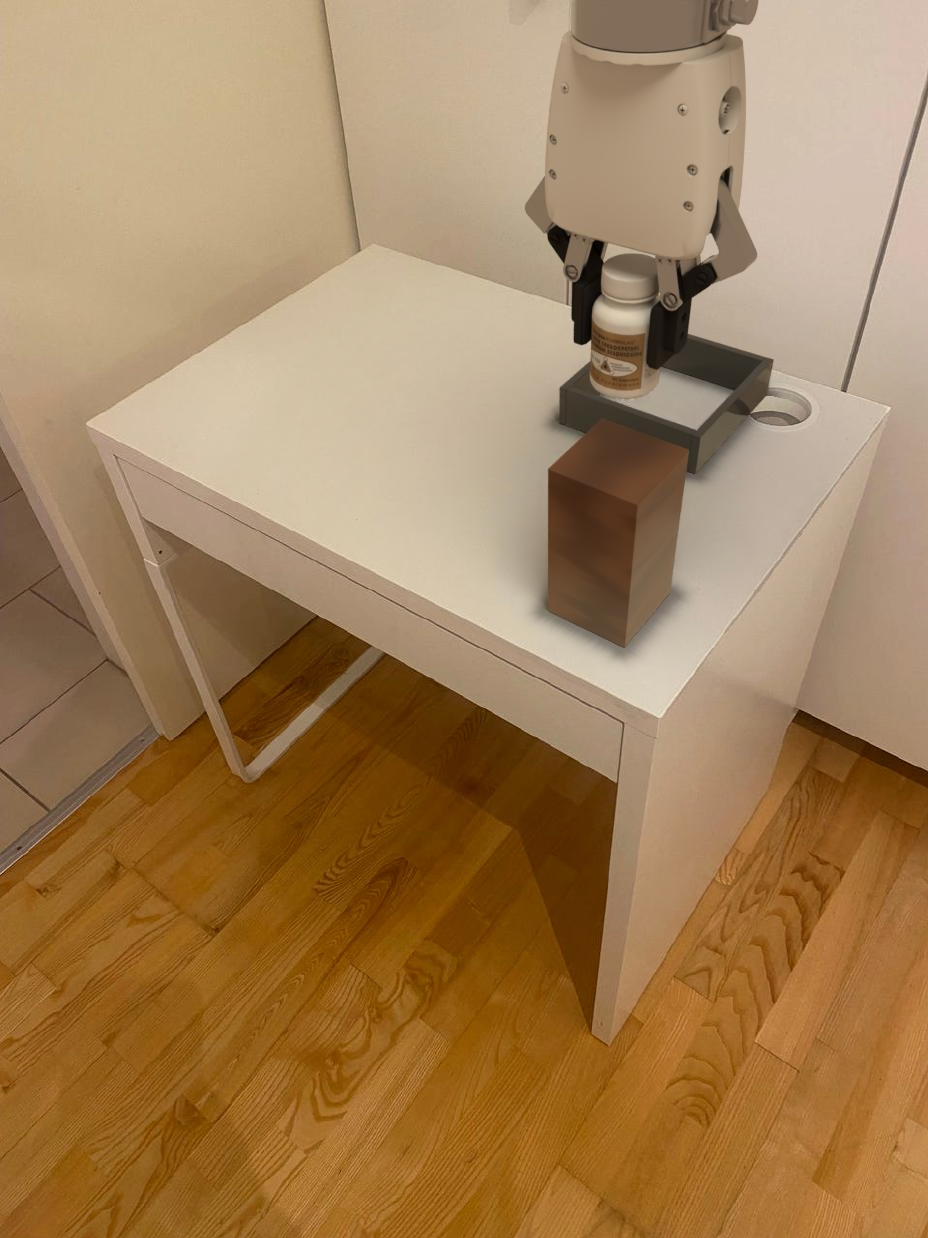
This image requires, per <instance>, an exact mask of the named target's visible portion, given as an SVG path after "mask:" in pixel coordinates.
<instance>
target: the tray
mask: <svg viewBox="0 0 928 1238" xmlns="http://www.w3.org/2000/svg"><path fill="white" fill-rule="evenodd" d="M773 366H774V358H771V357H767V356H764V355H761V354H756V353H753V352H750V351H747V350H743V349H740V348H737V347H733V346H730V345H727V344H724V343H721V342H717V341H714V340H710V339H707V338H704V337H701V336H697V335H693V334H690V333H688V336H687V341H686V343H685V346H684V347H683V349H682V350H681V351H680V352H679V353H677V354H674V355H673V356H672V357H671V358H670V359H669V360H668V361H667V362H665V363H664V364H663V365H662V366H661V367H663V368H666V369H670V370H673V371H675V372H678V373H681V374H684V375H688V376H691V377H694V378H698V379H700V380H703V381H706V382H710V383H712V384H716V385H719V386H722V387H725V388H728V389H732V390H733V391H732V392H731V393H730V394H729V395H728V397H726V399H725V400H724V401H723V402H722V403H721V404H720V405H719V406H718V407H717V408H716V409H715V410H714V411H713V412H712V413H711V414H710V416H709V417H707V419H706V420H705V421H704V422H703V423H701V425H700V426H699V427H698V428H697V429H694V428H691V427H688V426H686V425H683V424H680V423H677V422H675V421H672V420H669V419H666V418H664V417H661V416H657V415H655V414H651V413H648V412H646V411H643V410H641V409H637V408H635V407H632V406H629V405H626V404H623V403H620V402H618V401H615V400H612V399H609V398H606V397H603V396H602V395H601V396H600V394H601V393H600V392H598V391H597V390H596V389H595V388H594V387H593V385H592V384H591V381H590V361H588V362H587V363H586V364H584V366H583V367H581V368H580V369H579V370H578V371H577V372H576V373H574V374H573V375H572V376H571V377H569V379H567V380H566V381H565V382H564V383H563V384H562V385H560V386H559V395H558V396H559V397H558V399H559V401H558V405H559V406H558V423H559V424H561V425H564V426H566V427H568V428H572V429H574V430H576V431H579V432H582V433H585V434H586V433H587V432H588V431H589V430H590V429H591V428H592V427H593V426H594V425H595V424H596V423H598V422H599V421H600V420H601V419H602V418H603V419H605V420H608V421H611V422H614V423H616V424H619V425H622V426H625V427H627V428H630V429H633V430H636V431H639V432H641V433H644V434H647V435H650V436H652V437H655V438H658V439H661V440H663V441H666V442H669V443H672V444H674V445H677V446H680V447H683V448H685V449H688V450H689V455H688V463H687V470H686V472H689V473H691V474H694V475H695V474H697V473H698V471H699V470H701V468H702V467H703V466H704V465H705V464H706V463H707V462H708V461H709V460H710V458H712V456H713V455H714V454H715V453H716V452H717V450H719V449H720V448H721V446H722V445H723V444H724V443H725V442H726V441H727V440H728V439H729V437H730V436H731V435H732V434H733V433H734V432H735V431H736V430H737V429H738V428H739V426H741V424H742V423H743V422H744V421H745V420H746V419H747V417H749V416H750V415H751V413H752V412H753V411H754V410H755V409H756V407H758V406H759V405H760V404H761V402H762V401H763V400H765V398H766V397H767V395H768V391H769V386H770V381H771V376H772V371H773Z"/></svg>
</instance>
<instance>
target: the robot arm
mask: <svg viewBox="0 0 928 1238" xmlns="http://www.w3.org/2000/svg"><path fill="white" fill-rule="evenodd" d="M758 6H759V0H571V11H570V12H571V13H570V14H571V16H570V30H567V32H565V33H564V34H563V36H562V37H561V41H560V44H559V50H558V53H557V59H556V64H555V67H554V75H553V78H552V79H553V80H552V85H551V86H552V87H551V93H550V100H549V107H548V108H549V109H548V119H547V128H546V129H547V131H546V144H545V157H544V159H545V160H544V161H545V162H544V163H545V164H544V165H545V166H544V176H543V177H542V179H541V180H540V182H539V184H538V185H537V187H536V188H535V189H534V191H532V194H531V195H530V197H529V198H528V199H527V201H526V203H525V205H524V211H525V213H526V215H527V217H528V218H529V219H530V220H531V221H532V222H533V223H534V225H535V226H536V227H537V228H538V229H539V230H540V231H541V232H542V233H543V234H546V237H547V241H548V243H549V245H550V246H551V247H552V249H553V250H554V252H555V253H556V255H557V257H558V258H559V259H560V261H561V262H562V264H563V267H562V273H563V276H564V277H565V279H566V280H567V281H568V282H571V306H570V307H571V310H570V311H571V313H570V317H571V321H572V322H573V335H572V336H573V338H572V339H573V343H574V344H575V345H579V346H584V345H588V343H589V342H591V332H592V310H593V305H594V303H595V301H596V299H597V298H598V297H599V296H600V295H601V294H603V293H602V291H601V276H602V266H603V264H604V263H605V261H604V259H605V256H606V252H607V249H608V245H609V244H611V245H614V246H618V247H622V248H626V249H629V250H633V251H636V252H641V253H643V254H647V255H652V256H654V258H655V259H656V267H657V275H658V283H659V291H660V292H659V295H660V301H659V302H658V303H657V304H655V305H654V306H653V307H652V309H651V313H650V324H649V335H648V347H647V359H646V364H648V367H649V368H652V369H655V370H658V369H659V368H660V367H663V366H662V365H663V364H664V363H665V362H667V361H668V360H669V359H670V358H671V357H672V356H673V355H674V354H677V353H679V352H680V351H681V350H682V349H683V347H684V346H685V343H686V341H687V336H688V334H689V328H690V326H689V325H690V318H691V309H692V302H693V298H694V297H696V296H697V295H699V294H701V293H702V292H704V291H705V290H706V289H708V288H709V287H711V285H715V284H716V283H719V282H723V281H724V280H727V279H729V278H732V277H734V276H736V275H739V274H741V273H743V272H744V271H746V270H747V269H748V268H749V267H750V266H751V265H752V264H753V263H755V262H756V261H757V259H758V252H757V251H758V250H757V248H756V246H755V244H754V242H753V240H752V237H751V236H750V233H749V231H748V229H747V227H746V224H745V222H744V220H743V217H742V216H741V214H740V211H739V209H740V202H741V195H742V185H743V173H744V172H743V171H744V163H745V161H744V160H745V145H746V127H747V125H746V124H747V85H746V83H747V81H746V63H745V61H746V60H745V50H744V41H743V39H742V37H740V36H738V35H734V34H728V31H730V30H731V29H732V27H735V26H736V25H743V26H748V25H751V24H752V23H753V21H754V19H755V17H756V14H757V10H758ZM710 234H711V236H712V238H713V240H714V242H715V244H716V246H717V249H718V253H717V254H714V255H713V254H712V255H711V256H709V257H707V258H706V259H704V260H701V258H702V257H701V254H702V252H703V250H704V247H705V244H706V239H707V236H708V235H710Z"/></svg>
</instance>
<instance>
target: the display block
mask: <svg viewBox="0 0 928 1238" xmlns="http://www.w3.org/2000/svg"><path fill="white" fill-rule="evenodd" d="M688 455H689V450H688V449H685V448H683V447H680V446H677V445H674V444H672V443H669V442H666V441H663V440H661V439H658V438H655V437H652V436H650V435H647V434H644V433H641V432H639V431H636V430H633V429H630V428H627V427H625V426H622V425H619V424H616V423H614V422H611V421H608V420H605V419H603V418H602V419H601V420H600V421H599V422H598V423H596V424H595V425H594V426H593V427H592V428H591V429H590V430H589V431H588V432H587V433H585V434H583V436H581V437H580V438H579V439H578V440H577V441H576V442H575V443H574V444H573V445H572V446H570V447H569V448H568V449H567V450H566V452H564V453H563V454H562V455H561V456H560V457H559V458H558V459H557V460H556V461H554V463H552V465H551V466H549V467H548V469H547V611H548V612H550V613H552V614H554V615H556V616H558V617H560V618H562V619H564V620H567V621H568V622H571V623H572V624H574V625H577V626H579V627H581V628H582V629H585V630H587V631H589V632H591V633H593V634H595V635H597V636H600V637H602V638H604V639H605V640H608V641H610V642H612V643H614V644H616V645H618V646H620V647H622V648H626V646H628V644H629V643H630V642H631V641H632V639H634V637H635V636H636V635H637V634H638V632H639V631H640V630H641V629H642V628H643V626H645V624H646V623H647V622H648V620H649V619H650V618H651V617H652V616H653V614H654V613H655V612H656V611H657V610H658V609H659V607H660V606H661V605H662V604H663V602H664V601H665V600H666V599H667V597H669V595H670V594H671V588H672V581H673V575H674V567H675V561H676V559H675V558H676V552H677V544H678V537H679V536H678V535H679V529H680V522H681V516H682V515H681V514H682V508H683V507H682V506H683V499H684V494H685V493H684V492H685V486H686V484H685V483H686V477H687V471H686V470H687V463H688Z"/></svg>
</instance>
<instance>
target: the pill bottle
mask: <svg viewBox="0 0 928 1238" xmlns="http://www.w3.org/2000/svg"><path fill="white" fill-rule="evenodd" d="M601 291H602V293H603V294H601V295H600V296H599V297H598V298H597V299H596V301H595V303H594V305H593V310H592V332H591V340H590V358H589V359H590V360H589V362H590V381H591V384H592V385H593V387H594V388H595V389H596V390H597V391H598V392H600V394H602V395H604V396H606V397H609V398H613V399H621V400H630V399H632V400H633V399H639V398H642V397H644V396H647V395H648V394H651V392H653V391H654V390H655V389H656V388H657V386H658V384H659V383H660V376H661V367H662V366H661V367H660V368H659V369H658V370H655V369H652V368H649V367H648V364H646V359H647V347H648V335H649V324H650V313H651V309H652V307H653V306H654V305H655V304H657V303H658V302H659V301H660V291H659V283H658V275H657V267H656V259H655V257H653V256H651V255H649V254H645V253H633V252H631V253H620V254H616V255H613V256H611V257H610V258H607V260H605V261H604V264H603V266H602V276H601Z"/></svg>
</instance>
